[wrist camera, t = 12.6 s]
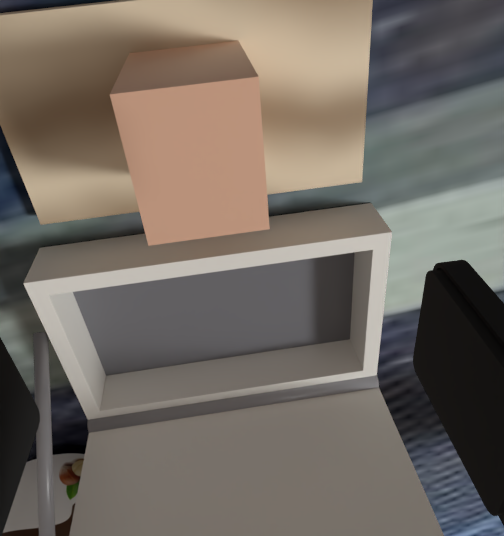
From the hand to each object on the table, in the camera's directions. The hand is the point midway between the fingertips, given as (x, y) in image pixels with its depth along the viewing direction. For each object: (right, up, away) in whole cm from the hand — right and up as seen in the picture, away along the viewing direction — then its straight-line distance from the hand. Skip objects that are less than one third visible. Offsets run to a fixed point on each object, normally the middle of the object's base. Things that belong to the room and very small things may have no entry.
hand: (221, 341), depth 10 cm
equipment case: (-1, -1, +21) cm, 21 cm away
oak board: (-3, +10, +13) cm, 17 cm away
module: (-2, +9, +13) cm, 16 cm away
